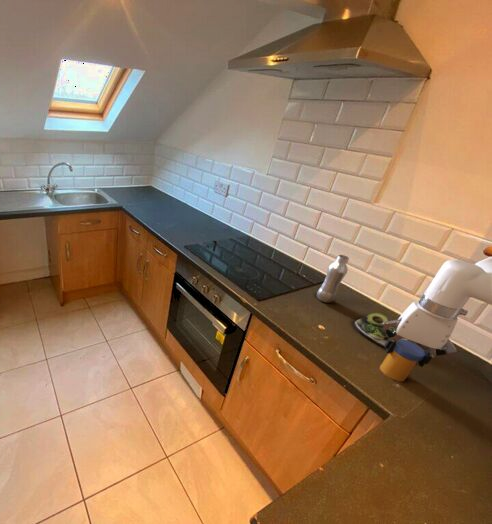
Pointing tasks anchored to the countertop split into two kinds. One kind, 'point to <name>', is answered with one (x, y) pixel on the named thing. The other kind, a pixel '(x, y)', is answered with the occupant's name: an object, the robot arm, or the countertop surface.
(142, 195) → the countertop surface
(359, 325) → the salad plate
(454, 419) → the countertop surface
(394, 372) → the jar
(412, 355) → the lid
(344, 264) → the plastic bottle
